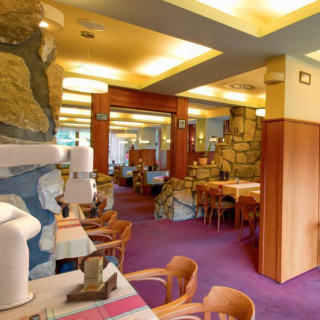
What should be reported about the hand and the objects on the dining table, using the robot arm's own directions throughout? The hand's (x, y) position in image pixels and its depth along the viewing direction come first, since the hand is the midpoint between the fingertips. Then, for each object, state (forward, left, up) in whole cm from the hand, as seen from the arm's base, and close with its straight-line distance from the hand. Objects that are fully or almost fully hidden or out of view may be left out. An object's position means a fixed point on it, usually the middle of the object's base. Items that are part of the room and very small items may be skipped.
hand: (79, 217), depth 117 cm
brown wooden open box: (+6, -1, -32) cm, 33 cm away
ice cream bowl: (+1, +11, -32) cm, 34 cm away
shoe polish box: (+6, -1, -29) cm, 30 cm away
